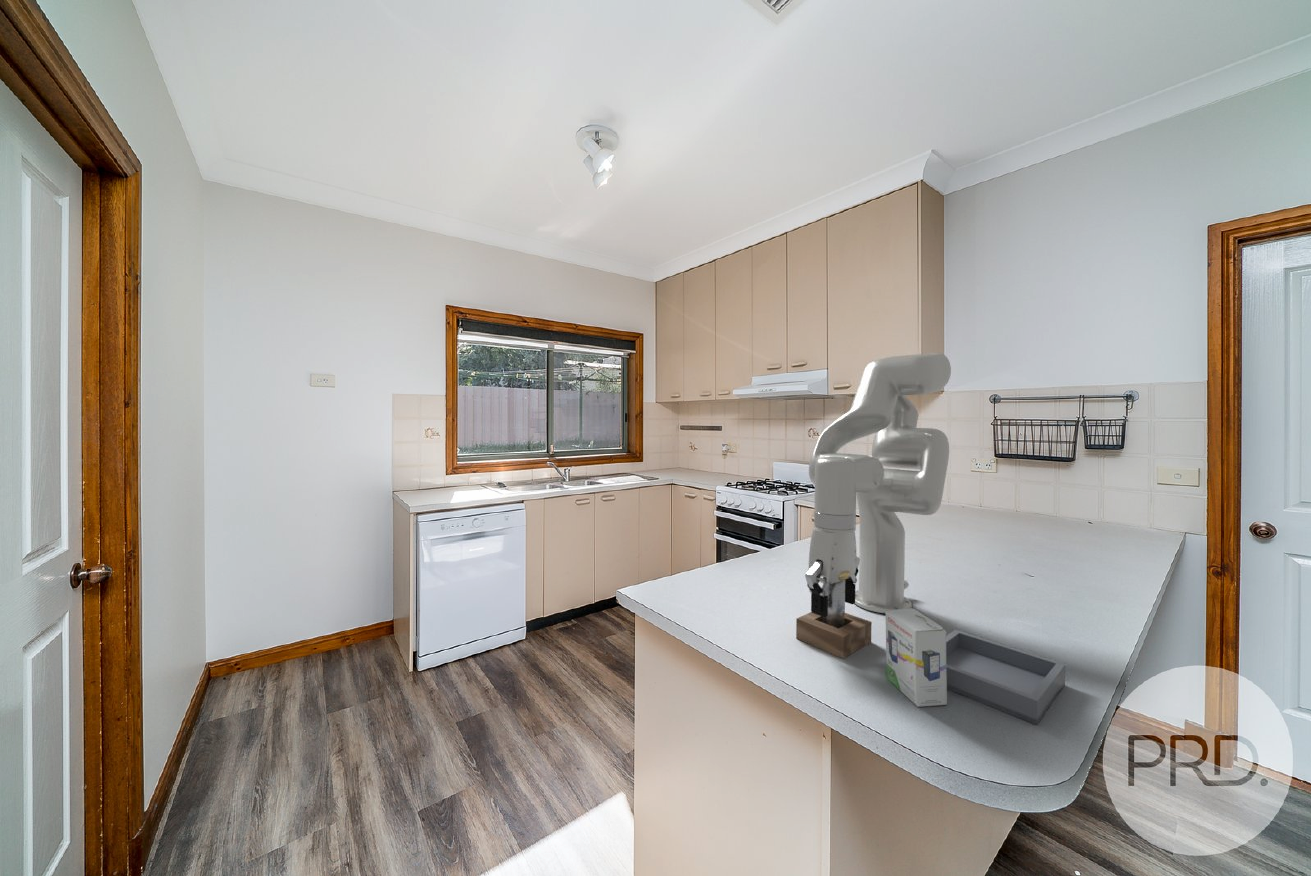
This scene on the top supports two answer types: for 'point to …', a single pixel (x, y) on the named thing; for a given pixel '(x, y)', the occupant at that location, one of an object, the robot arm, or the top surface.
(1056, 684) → the tray
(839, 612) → the steel pin
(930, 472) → the robot arm
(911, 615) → the ink box
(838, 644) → the block
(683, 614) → the top surface
